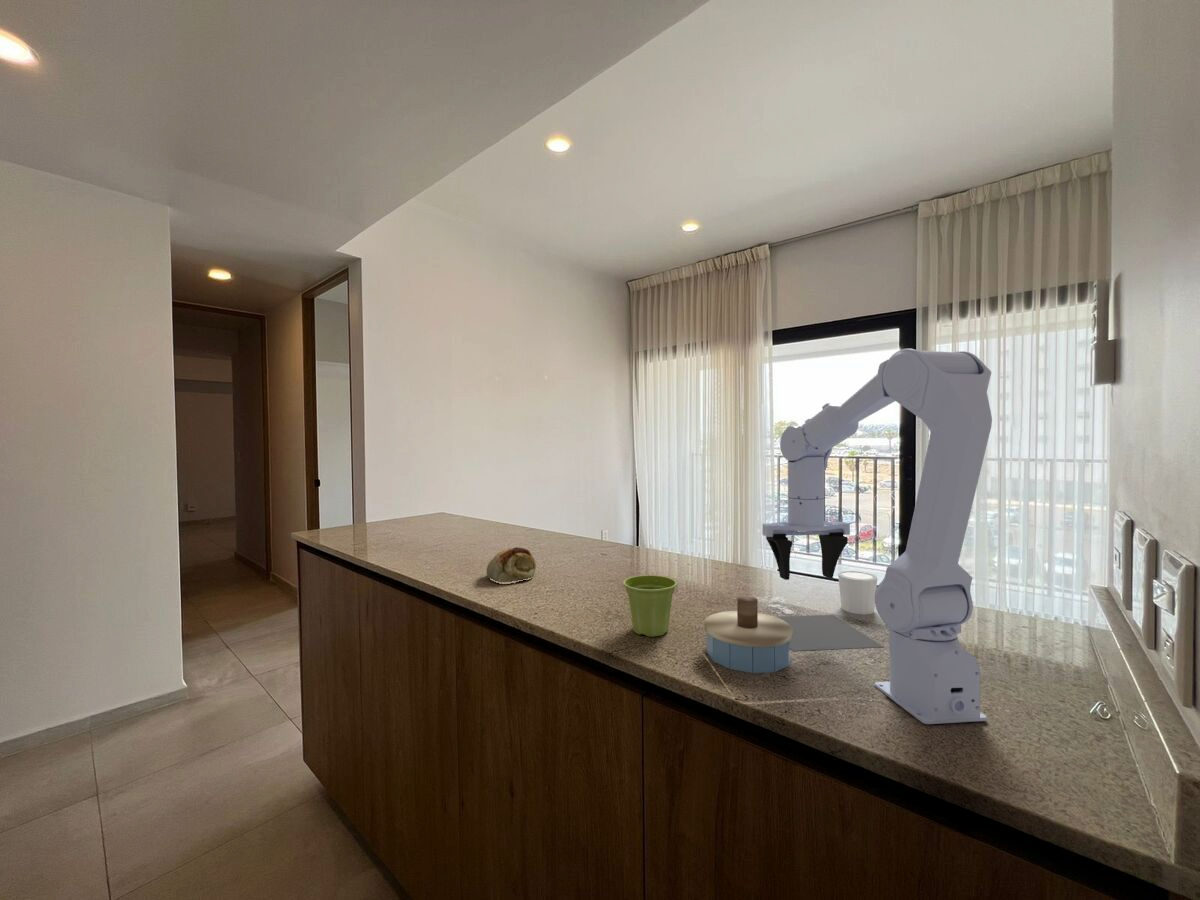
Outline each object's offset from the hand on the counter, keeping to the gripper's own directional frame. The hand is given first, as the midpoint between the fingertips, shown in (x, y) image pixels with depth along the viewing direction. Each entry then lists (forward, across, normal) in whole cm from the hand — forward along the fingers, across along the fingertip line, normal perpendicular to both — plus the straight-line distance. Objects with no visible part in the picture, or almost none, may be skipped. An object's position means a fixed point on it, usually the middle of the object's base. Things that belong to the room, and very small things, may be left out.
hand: (806, 577), depth 85 cm
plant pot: (+10, +26, -5) cm, 28 cm away
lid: (+6, +13, +7) cm, 16 cm away
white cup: (+10, -16, -11) cm, 22 cm away
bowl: (+10, +13, +7) cm, 18 cm away
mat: (+10, -2, -1) cm, 10 cm away
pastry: (+10, +54, -44) cm, 70 cm away
